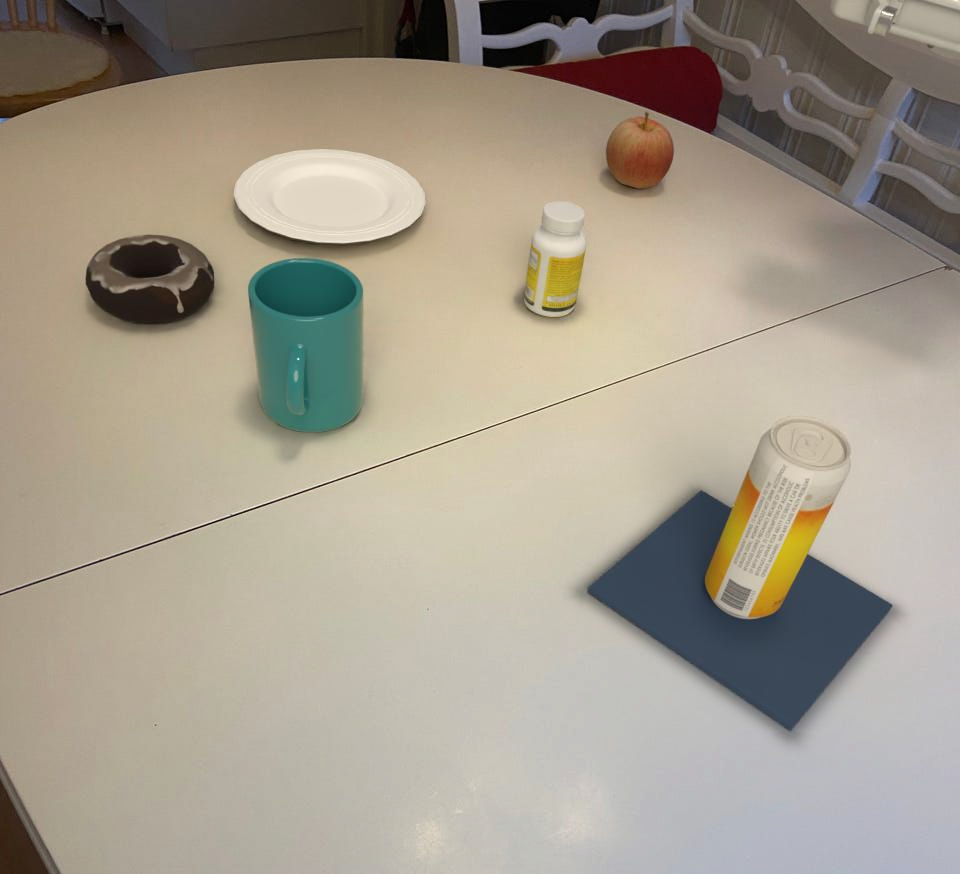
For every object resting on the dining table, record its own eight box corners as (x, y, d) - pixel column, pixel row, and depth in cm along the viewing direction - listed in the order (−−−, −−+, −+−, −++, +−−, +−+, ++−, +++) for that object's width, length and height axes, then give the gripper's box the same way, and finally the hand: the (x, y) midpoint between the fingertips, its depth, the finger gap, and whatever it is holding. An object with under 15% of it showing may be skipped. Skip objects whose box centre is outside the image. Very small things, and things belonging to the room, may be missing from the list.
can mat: (890, 609, 75) (893, 604, 75) (790, 731, 67) (793, 726, 66) (699, 494, 82) (701, 489, 81) (587, 592, 73) (588, 587, 73)
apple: (599, 163, 119) (612, 95, 113) (662, 171, 120) (678, 103, 113) (601, 194, 114) (615, 124, 108) (667, 202, 115) (684, 132, 108)
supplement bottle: (584, 303, 99) (602, 210, 91) (557, 325, 96) (574, 231, 88) (540, 283, 101) (554, 191, 93) (512, 304, 98) (525, 210, 90)
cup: (243, 453, 80) (228, 335, 71) (270, 367, 87) (259, 251, 79) (352, 463, 80) (350, 348, 71) (369, 377, 88) (369, 263, 79)
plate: (351, 281, 97) (350, 263, 96) (194, 212, 103) (191, 194, 102) (460, 205, 109) (461, 188, 108) (314, 147, 115) (314, 131, 114)
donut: (87, 334, 88) (77, 295, 85) (94, 265, 95) (85, 227, 92) (218, 330, 90) (213, 292, 87) (215, 263, 97) (210, 225, 94)
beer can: (788, 583, 75) (865, 431, 63) (769, 636, 71) (847, 484, 60) (714, 555, 76) (776, 400, 65) (692, 605, 73) (754, 451, 61)
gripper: (872, -78, 84) (826, -41, 76) (1113, -14, 78) (1091, 33, 70) (844, 4, 88) (798, 47, 80) (1068, 70, 83) (1043, 122, 75)
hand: (937, 41), depth 75 cm, fingers open, 8 cm apart
